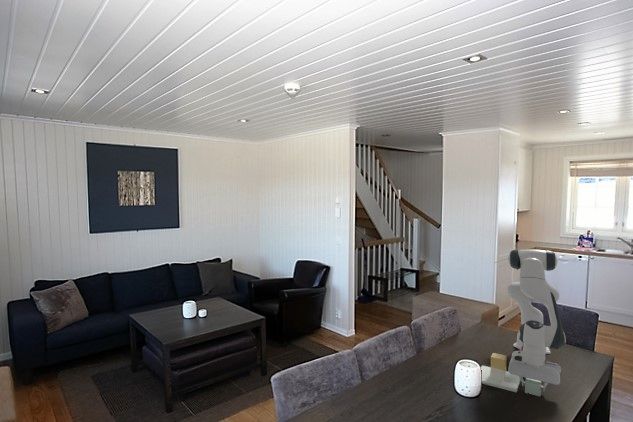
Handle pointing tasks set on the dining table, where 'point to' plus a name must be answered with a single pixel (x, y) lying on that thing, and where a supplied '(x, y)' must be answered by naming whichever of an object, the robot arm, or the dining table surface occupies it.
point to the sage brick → (533, 387)
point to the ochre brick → (498, 361)
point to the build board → (497, 382)
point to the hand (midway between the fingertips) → (533, 388)
